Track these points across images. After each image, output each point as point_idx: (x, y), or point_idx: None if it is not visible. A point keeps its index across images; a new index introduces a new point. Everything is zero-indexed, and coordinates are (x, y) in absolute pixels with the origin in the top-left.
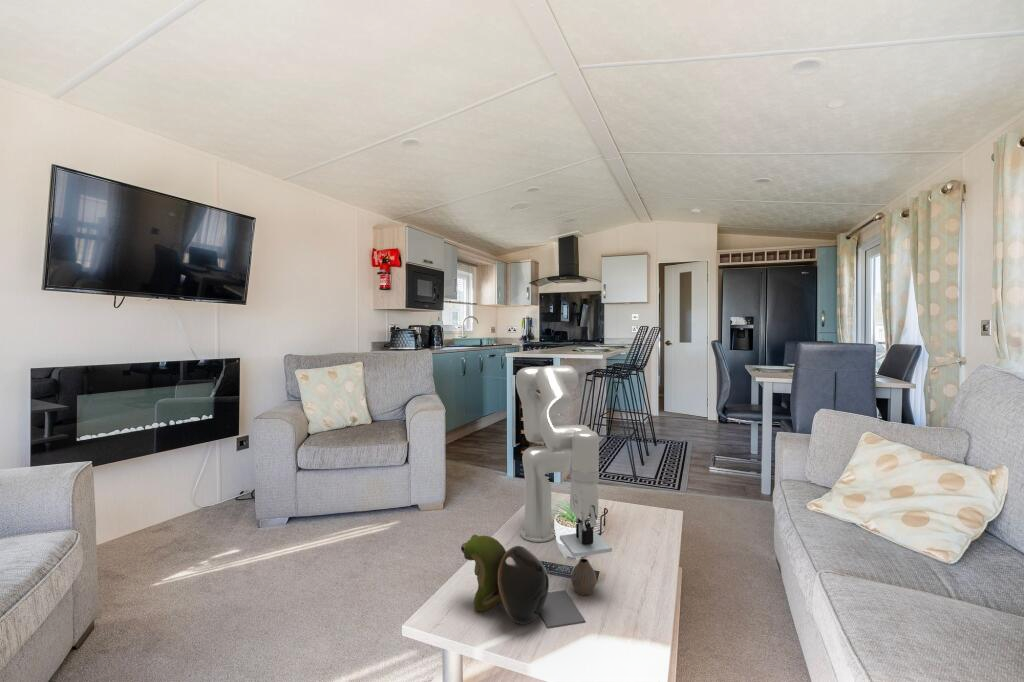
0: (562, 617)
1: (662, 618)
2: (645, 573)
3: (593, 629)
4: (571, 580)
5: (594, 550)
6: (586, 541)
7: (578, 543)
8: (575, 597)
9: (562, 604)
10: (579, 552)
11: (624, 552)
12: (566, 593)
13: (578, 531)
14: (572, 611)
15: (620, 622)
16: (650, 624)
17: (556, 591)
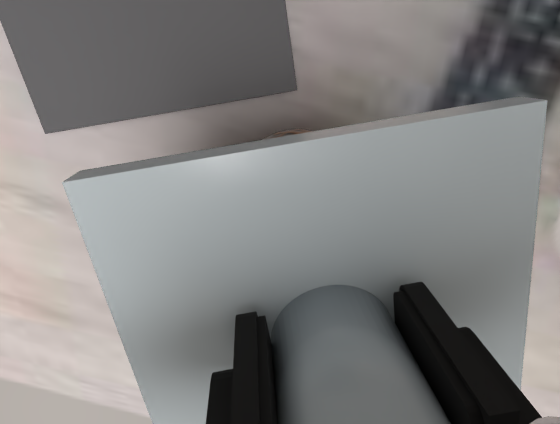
0: (55, 22)
1: (110, 398)
2: None
3: (3, 156)
4: (303, 129)
5: (139, 385)
6: (214, 376)
7: (303, 274)
8: (243, 128)
9: (169, 46)
10: (88, 248)
11: (544, 391)
12: (265, 88)
13: (423, 352)
14: (112, 87)
15: (69, 269)
16: (71, 358)
17: (288, 36)
